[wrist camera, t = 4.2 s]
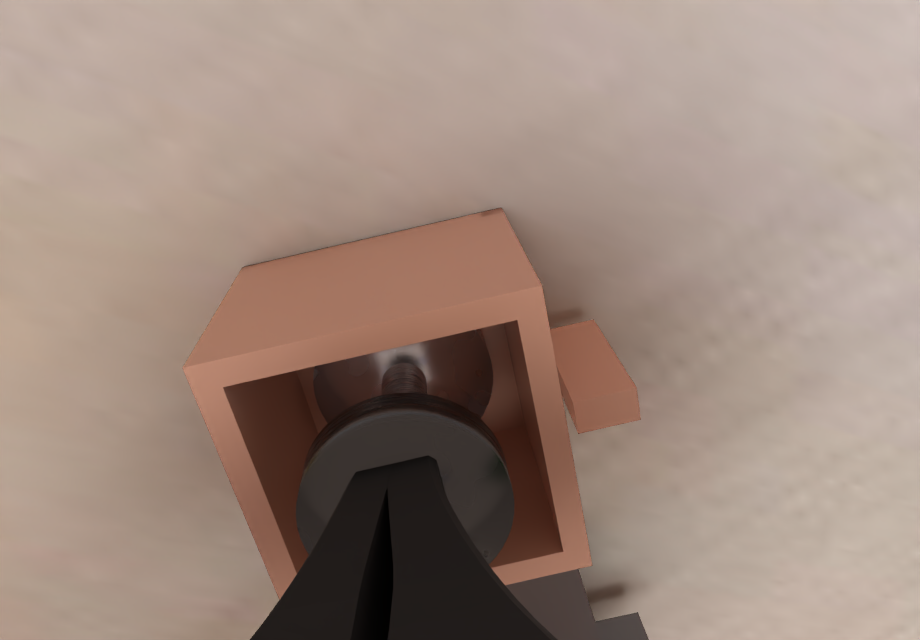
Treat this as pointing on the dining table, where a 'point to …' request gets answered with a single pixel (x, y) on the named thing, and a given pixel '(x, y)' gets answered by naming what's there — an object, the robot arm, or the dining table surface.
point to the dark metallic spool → (411, 432)
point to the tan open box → (394, 325)
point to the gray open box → (572, 610)
